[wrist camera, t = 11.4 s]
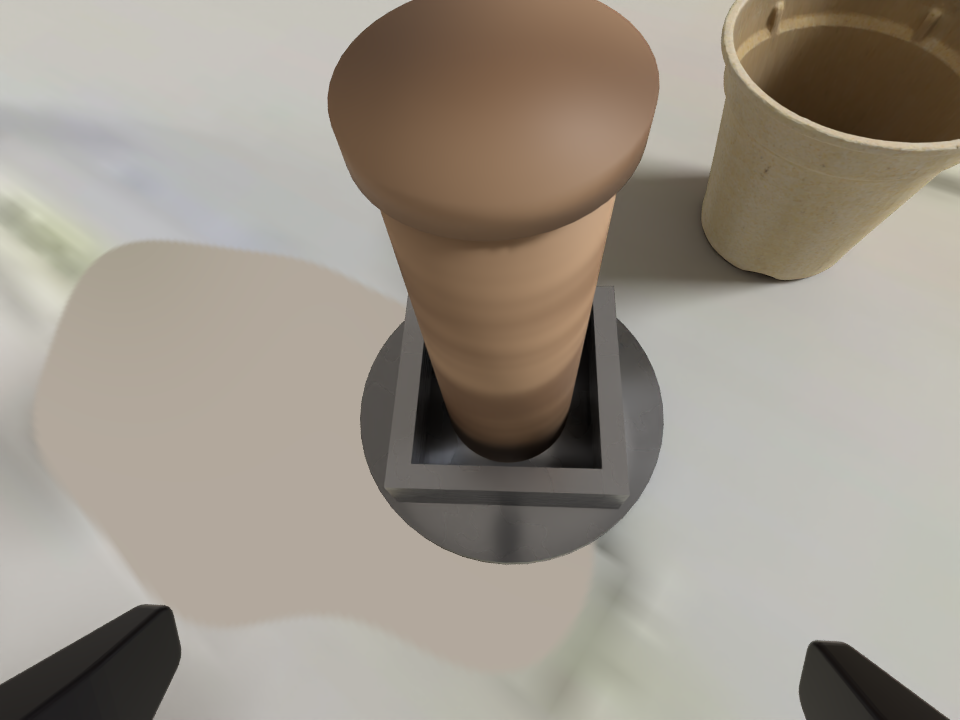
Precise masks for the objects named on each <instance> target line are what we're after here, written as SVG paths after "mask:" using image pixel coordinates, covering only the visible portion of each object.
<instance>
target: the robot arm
mask: <svg viewBox="0 0 960 720" xmlns="http://www.w3.org/2000/svg"><path fill="white" fill-rule="evenodd" d="M180 658H181V645H180V640H179V636H178V632H177V628H176V623H175V619H174V615H173V612H172V610H171V609H170V608H169V607H168V606H165V605H149V604H144V605H139V606H137V607H135V608H133V609H131V610H130V611H128V612H126V613H124V614H123V615H121V616H119V617H117V618H116V619H114V620H112V621H110V622H109V623H107V624H105V625H103V626H102V627H100V628H98V629H96V630H95V631H93V632H91V633H90V634H88V635H86V636H84V637H83V638H81V639H79V640H77V641H76V642H74V643H72V644H70V645H69V646H67V647H65V648H63V649H62V650H60V651H58V652H56V653H55V654H53V655H51V656H49V657H48V658H46V659H44V660H42V661H41V662H39V663H37V664H36V665H34V666H32V667H30V668H29V669H27V670H25V671H23V672H22V673H20V674H18V675H16V676H15V677H13V678H11V679H9V680H8V681H6V682H4V683H2V684H1V685H0V720H153V718H154V716H155V714H156V712H157V709H158V707H159V705H160V703H161V701H162V699H163V697H164V695H165V693H166V691H167V689H168V687H169V685H170V682H171V680H172V678H173V676H174V674H175V672H176V670H177V668H178V665H179V662H180ZM799 697H800V702H801V706H802V709H803V712H804V715H805V718H806V720H950V719H948V718H947V717H946V716H944V715H943V714H942V713H940V712H939V711H938V710H936V709H935V708H934V707H932V706H931V705H930V704H928V703H927V702H926V701H924V700H923V699H921V698H920V697H919V696H917V695H916V694H915V693H913V692H912V691H911V690H909V689H908V688H907V687H905V686H904V685H903V684H901V683H900V682H899V681H897V680H896V679H895V678H893V677H892V676H890V675H889V674H888V673H886V672H885V671H884V670H882V669H881V668H880V667H878V666H877V665H876V664H874V663H873V662H872V661H870V660H869V659H868V658H866V657H865V656H864V655H862V654H861V653H859V652H858V651H857V650H855V649H854V648H853V647H851V646H850V645H848V644H846V643H844V642H839V641H821V640H816V641H812V642H811V643H810V644H809V646H808V648H807V652H806V657H805V661H804V666H803V670H802V675H801V679H800V684H799Z"/></svg>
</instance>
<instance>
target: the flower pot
mask: <svg viewBox="0 0 960 720" xmlns="http://www.w3.org/2000/svg"><path fill="white" fill-rule="evenodd" d="M721 48H722V55H723V59H724V62H725V65H726V66H725V71H724V92H725V95H726V99H725V104H724V109H723V114H722V119H721V124H720V128H719V133H718V138H717V143H716V148H715V153H714V157H713V162H712V166H711V171H710V176H709V180H708V185H707V189H706V194H705V197H704V200H703V204H702V214H701V222H702V227H703V230H704V232H705V235H706V237H707V239H708V241H709V242H710V244H711V245H712V246H713V248H714V249H715V250H716V251H717V252H718V253H719V254H720V255H721V256H722V257H723V258H724V259H725V260H727V261H728V262H729V263H731V264H732V265H734V266H736V267H737V268H739V269H741V270H746V271H754V272H759V273H763V274H766V275H769V276H772V277H774V278H776V279H780V280H794V279H801V278H806V277H810V276H814V275H816V274H819V273H821V272H823V271H825V270H826V269H828V268H830V267H831V266H833V265H834V264H835V263H836V262H837V261H838V260H839V259H840V258H841V257H843V256H844V255H845V254H846V253H847V252H848V251H849V250H850V249H851V248H853V247H854V246H855V245H856V244H857V243H858V242H859V241H861V240H862V239H863V238H864V237H865V236H866V235H867V234H869V233H870V232H871V231H872V230H873V229H874V228H876V227H877V226H878V225H879V224H880V223H881V222H883V221H884V220H885V219H886V218H887V217H889V216H890V215H891V214H892V213H893V212H894V211H896V210H897V209H898V208H899V207H900V206H901V205H903V204H904V203H905V202H906V201H907V200H909V199H910V198H911V197H912V196H913V195H914V194H916V193H917V192H918V191H919V190H920V189H921V188H923V187H924V186H925V185H926V184H927V183H928V182H930V181H931V180H932V179H933V178H934V177H935V176H937V175H938V174H939V173H940V172H941V171H943V170H946V169H948V168H951V167H953V166H955V165H957V164H959V163H960V0H736V1H735V2H734V4H733V5H732V7H731V8H730V10H729V13H728V14H727V16H726V19H725V22H724V25H723V29H722V36H721Z"/></svg>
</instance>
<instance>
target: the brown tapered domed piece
mask: <svg viewBox="0 0 960 720" xmlns="http://www.w3.org/2000/svg"><path fill="white" fill-rule="evenodd" d="M658 93H659V72H658V68H657V64H656V60H655V57H654V55H653V53H652V51H651V49H650V46H649V45H648V43H647V42H646V40H645V39H644V37H643V36H642V35H641V33H640V32H639V31H638V30H637V29H636V28H635V27H634V26H633V25H632V24H631V23H630V22H629V21H628V20H627V19H626V18H624V17H623V16H622V15H620V14H619V13H618V12H617V11H615V10H613V9H612V8H610V7H608V6H607V5H605V4H603V3H601V2H599V1H597V0H412V1H410V2H408V3H405V4H403V5H401V6H400V7H398V8H396V9H394V10H392V11H390V12H388V13H387V14H385V15H384V16H382V17H381V18H379V19H378V20H376V21H375V22H374V23H372V24H371V25H370V26H369V27H368V28H366V29H365V30H364V31H363V32H362V33H361V34H360V35H359V36H358V37H357V38H356V39H355V40H354V41H353V42H352V43H351V44H350V45H349V47H348V48H347V49H346V51H345V52H344V53H343V55H342V56H341V58H340V60H339V62H338V64H337V66H336V67H335V69H334V72H333V75H332V78H331V81H330V85H329V91H328V113H329V118H330V122H331V126H332V129H333V131H334V134H335V137H336V139H337V142H338V145H339V147H340V150H341V153H342V155H343V158H344V161H345V163H346V166H347V168H348V170H349V173H350V175H351V177H352V179H353V181H354V182H355V184H356V185H357V187H358V188H359V189H360V191H361V192H362V193H363V194H364V195H365V196H366V198H367V199H368V200H369V201H370V202H371V203H372V204H373V205H375V206H376V207H377V208H379V209H380V211H381V214H382V217H383V220H384V223H385V226H386V228H387V231H388V234H389V237H390V240H391V243H392V246H393V249H394V252H395V255H396V258H397V261H398V264H399V267H400V270H401V273H402V276H403V279H404V282H405V285H406V288H407V291H408V294H409V297H410V300H411V303H412V306H413V309H414V312H415V315H416V318H417V321H418V324H419V327H420V330H421V333H422V336H423V339H424V342H425V345H426V348H427V351H428V354H429V357H430V360H431V363H432V366H433V369H434V372H435V375H436V378H437V381H438V384H439V387H440V390H441V393H442V396H443V399H444V402H445V405H446V408H447V411H448V414H449V417H450V420H451V423H452V426H453V428H454V430H455V432H456V434H457V435H458V437H459V438H460V440H461V441H462V442H463V443H464V444H465V445H466V446H467V447H468V448H469V449H470V450H472V451H473V452H475V453H476V454H478V455H480V456H482V457H484V458H486V459H489V460H493V461H497V462H506V463H510V462H520V461H525V460H528V459H531V458H533V457H536V456H538V455H540V454H541V453H543V452H544V451H546V450H547V449H548V448H550V447H551V446H552V445H553V444H554V443H555V442H556V440H557V439H558V438H559V436H560V435H561V433H562V431H563V429H564V427H565V424H566V421H567V418H568V413H569V408H570V404H571V399H572V395H573V390H574V385H575V381H576V376H577V372H578V367H579V363H580V358H581V353H582V349H583V344H584V340H585V335H586V330H587V326H588V321H589V317H590V312H591V307H592V303H593V298H594V294H595V289H596V284H597V280H598V275H599V271H600V266H601V262H602V257H603V252H604V248H605V243H606V239H607V234H608V229H609V225H610V220H611V216H612V211H613V206H614V202H615V197H616V193H617V192H618V191H619V190H621V189H622V187H623V186H624V185H625V184H626V182H627V181H628V180H629V179H630V177H631V176H632V175H633V173H634V171H635V170H636V168H637V166H638V164H639V163H640V161H641V158H642V156H643V153H644V150H645V147H646V144H647V140H648V136H649V132H650V128H651V124H652V120H653V117H654V113H655V109H656V105H657V100H658Z"/></svg>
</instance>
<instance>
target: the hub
mask: <svg viewBox="0 0 960 720" xmlns="http://www.w3.org/2000/svg"><path fill="white" fill-rule="evenodd" d="M360 422H361V439H362V444H363V449H364V454H365V457H366V461H367V463H368V466H369V469H370V472H371V474H372V476H373V478H374V480H375V482H376V484H377V486H378V488H379V490H380V492H381V493H382V495H383V496H384V497H385V499H386V500H387V501H388V503H389V504H390V506H391V507H392V508H393V509H394V510H395V511H396V513H397V514H398V515H399V516H400V517H401V518H402V519H403V520H404V521H405V522H406V523H407V524H408V525H409V526H410V527H412V528H413V529H414V530H416V531H417V532H418V533H419V534H421V535H422V536H424V537H425V538H426V539H428V540H429V541H431V542H433V543H434V544H436V545H438V546H440V547H441V548H443V549H445V550H448V551H450V552H453V553H455V554H458V555H460V556H462V557H466V558H470V559H474V560H478V561H482V562H488V563H498V564H529V563H535V562H541V561H547V560H551V559H554V558H557V557H560V556H564V555H567V554H570V553H572V552H574V551H576V550H578V549H580V548H582V547H584V546H586V545H589V544H590V543H592V542H593V541H595V540H596V539H598V538H599V537H601V536H602V535H604V534H605V533H607V532H608V531H609V530H610V529H611V528H612V527H613V526H614V525H615V524H616V523H618V522H619V521H620V520H621V519H622V518H623V517H624V516H625V514H626V513H627V512H628V511H629V510H630V508H631V507H632V506H633V505H634V504H635V502H636V501H637V500H638V499H639V497H640V495H641V494H642V492H643V490H644V489H645V487H646V485H647V484H648V482H649V480H650V478H651V475H652V473H653V470H654V468H655V466H656V463H657V460H658V456H659V452H660V448H661V444H662V435H663V425H664V424H663V404H662V399H661V393H660V388H659V385H658V381H657V378H656V375H655V372H654V370H653V367H652V365H651V363H650V361H649V359H648V357H647V355H646V353H645V352H644V350H643V349H642V347H641V346H640V344H639V343H638V341H637V340H636V338H635V337H634V336H633V335H632V334H631V332H630V331H629V330H628V329H627V328H626V327H625V325H624V324H623V323H621V322H620V321H619V320H618V319H617V318H616V309H615V296H614V286H596V289H595V294H594V298H593V303H592V307H591V312H590V317H589V321H588V326H587V330H586V335H585V340H584V344H583V349H582V353H581V358H580V363H579V367H578V372H577V376H576V381H575V385H574V390H573V395H572V399H571V404H570V408H569V413H568V418H567V421H566V424H565V427H564V429H563V431H562V433H561V435H560V436H559V438H558V439H557V440H556V442H555V443H554V444H553V445H552V446H551V447H550V448H548V449H547V450H546V451H544V452H543V453H541V454H540V455H538V456H536V457H533V458H531V459H528V460H525V461H520V462H510V463H506V462H497V461H493V460H489V459H486V458H484V457H482V456H480V455H478V454H476V453H475V452H473V451H472V450H470V449H469V448H468V447H467V446H466V445H465V444H464V443H463V442H462V441H461V440H460V438H459V437H458V435H457V434H456V432H455V430H454V428H453V426H452V423H451V420H450V417H449V414H448V411H447V408H446V405H445V402H444V399H443V396H442V393H441V390H440V387H439V384H438V381H437V378H436V375H435V372H434V369H433V366H432V363H431V360H430V357H429V354H428V351H427V348H426V345H425V342H424V339H423V336H422V333H421V330H420V327H419V324H418V321H417V318H416V315H415V312H414V309H413V306H412V303H411V300H410V297H409V294H408V299H407V307H406V317H405V321H404V322H403V323H401V325H400V326H399V327H398V328H397V329H396V330H395V331H394V333H393V334H392V335H391V336H390V337H389V338H388V340H387V341H386V343H385V344H384V346H383V347H382V349H381V350H380V352H379V354H378V355H377V358H376V359H375V361H374V363H373V365H372V367H371V370H370V373H369V375H368V378H367V381H366V384H365V388H364V393H363V397H362V403H361V415H360Z"/></svg>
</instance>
